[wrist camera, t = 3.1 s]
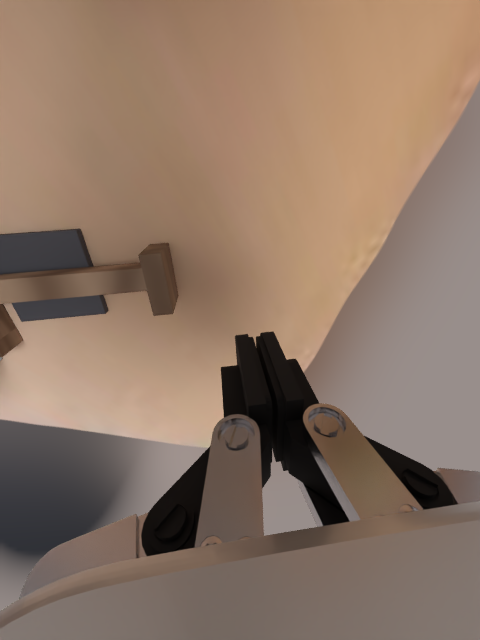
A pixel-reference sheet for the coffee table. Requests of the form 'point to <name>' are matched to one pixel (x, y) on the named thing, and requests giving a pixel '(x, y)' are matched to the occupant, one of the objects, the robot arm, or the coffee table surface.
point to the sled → (91, 286)
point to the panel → (49, 255)
